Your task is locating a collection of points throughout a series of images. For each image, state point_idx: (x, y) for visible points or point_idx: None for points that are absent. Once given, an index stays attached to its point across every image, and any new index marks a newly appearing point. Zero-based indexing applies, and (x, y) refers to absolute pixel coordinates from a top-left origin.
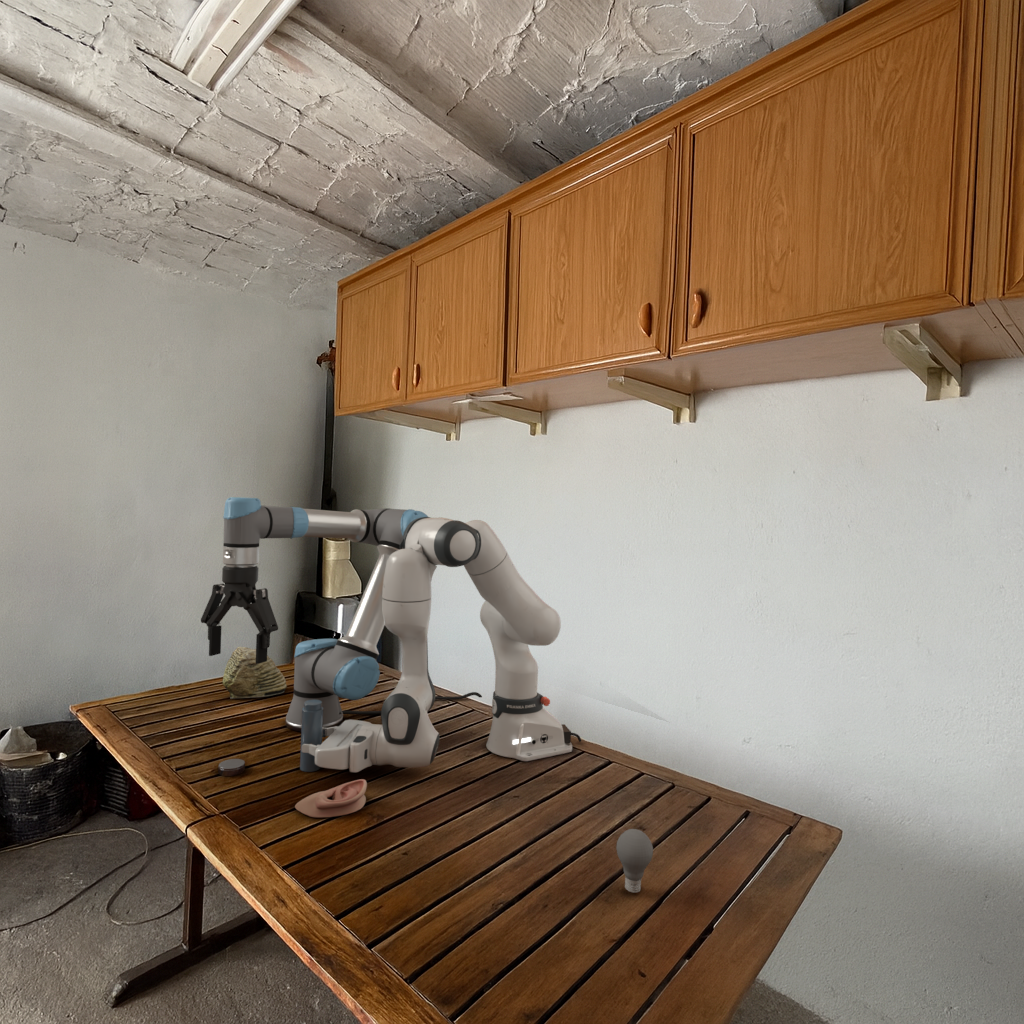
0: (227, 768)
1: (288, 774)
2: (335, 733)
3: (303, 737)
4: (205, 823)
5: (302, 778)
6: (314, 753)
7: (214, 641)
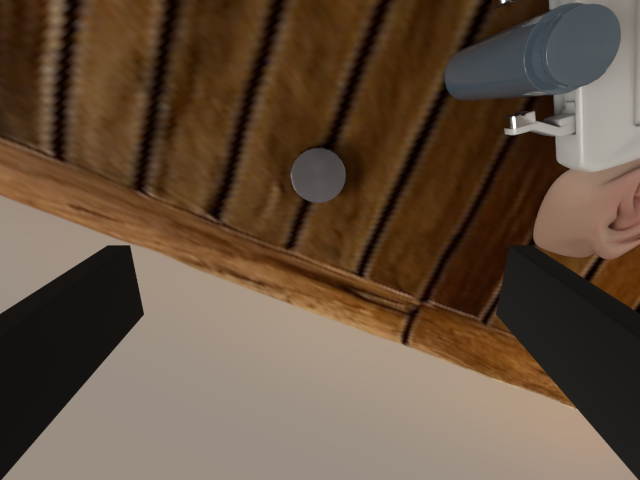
0: (328, 198)
1: (441, 129)
2: None
3: (499, 97)
4: (422, 331)
5: (481, 132)
6: (548, 135)
7: (83, 353)
